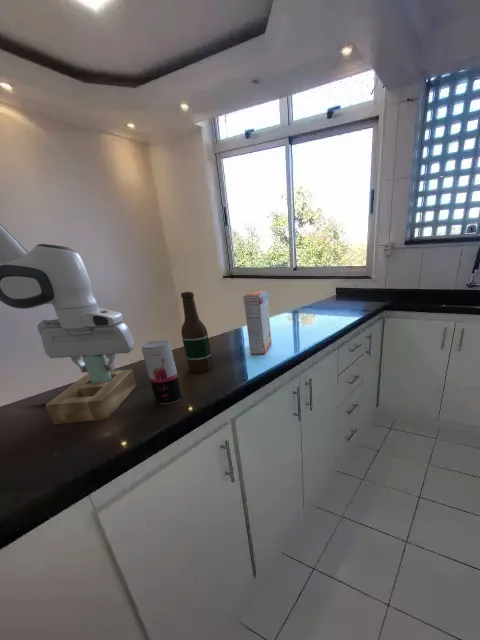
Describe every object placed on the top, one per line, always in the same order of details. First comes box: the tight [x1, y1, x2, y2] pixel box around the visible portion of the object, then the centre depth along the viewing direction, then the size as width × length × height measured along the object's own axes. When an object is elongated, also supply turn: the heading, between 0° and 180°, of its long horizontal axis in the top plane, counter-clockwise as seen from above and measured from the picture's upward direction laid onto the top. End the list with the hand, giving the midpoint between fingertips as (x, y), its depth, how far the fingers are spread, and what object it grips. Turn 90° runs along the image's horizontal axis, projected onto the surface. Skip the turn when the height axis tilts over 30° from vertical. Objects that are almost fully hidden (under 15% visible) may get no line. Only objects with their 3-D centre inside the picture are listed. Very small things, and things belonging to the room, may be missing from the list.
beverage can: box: [141, 339, 183, 405], centre depth 78 cm, size 7×6×15 cm
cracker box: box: [243, 289, 272, 355], centre depth 115 cm, size 14×6×21 cm, turn 174°
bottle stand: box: [45, 368, 138, 425], centre depth 80 cm, size 12×21×5 cm, turn 8°
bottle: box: [81, 355, 112, 383], centre depth 81 cm, size 5×5×15 cm
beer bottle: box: [180, 291, 214, 374], centre depth 96 cm, size 8×8×24 cm
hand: (98, 370), depth 82 cm, fingers closed on bottle, 5 cm apart
